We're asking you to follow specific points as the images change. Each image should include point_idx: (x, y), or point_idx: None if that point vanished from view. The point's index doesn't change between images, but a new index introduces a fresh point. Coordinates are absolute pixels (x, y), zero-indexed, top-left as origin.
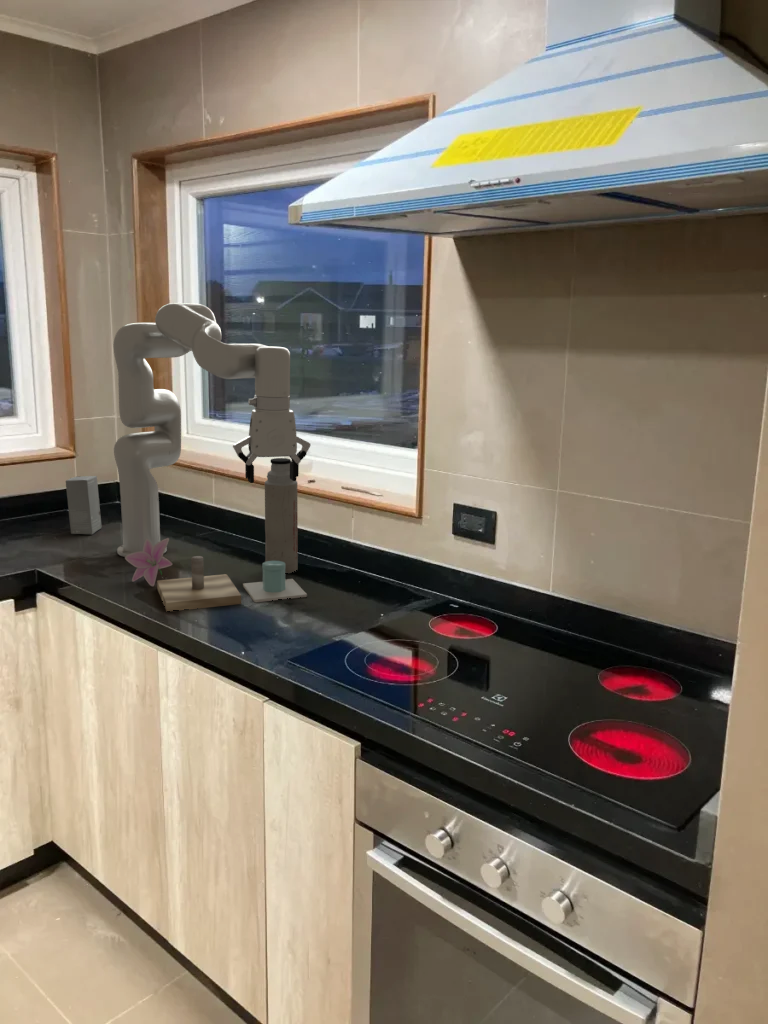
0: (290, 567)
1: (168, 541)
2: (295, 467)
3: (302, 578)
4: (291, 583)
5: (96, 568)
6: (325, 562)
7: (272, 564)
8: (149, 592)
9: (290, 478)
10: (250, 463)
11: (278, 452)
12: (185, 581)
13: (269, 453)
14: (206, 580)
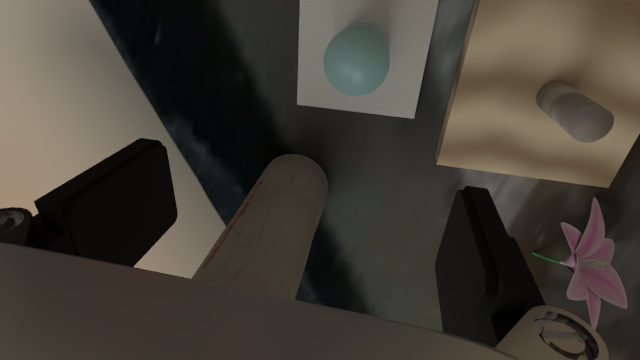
0: (282, 159)
1: (568, 287)
2: (73, 184)
3: (272, 111)
4: (309, 72)
5: (624, 331)
6: (202, 185)
7: (362, 58)
8: (628, 163)
9: (174, 204)
10: (531, 325)
11: (110, 310)
12: (551, 154)
13: (286, 339)
14: (502, 140)
